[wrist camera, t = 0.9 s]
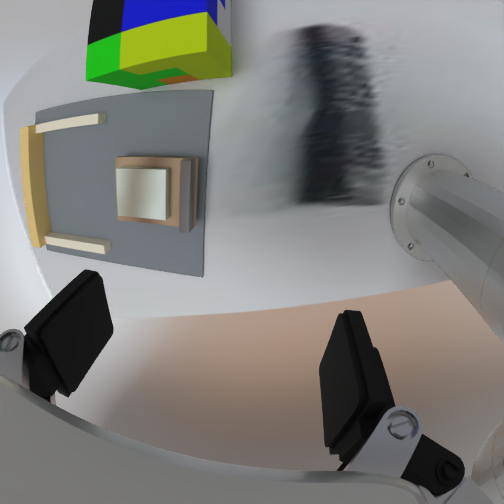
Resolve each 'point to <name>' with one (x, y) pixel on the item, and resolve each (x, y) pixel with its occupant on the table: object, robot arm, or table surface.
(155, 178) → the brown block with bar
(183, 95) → the mat
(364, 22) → the table surface
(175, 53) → the puzzle toy
